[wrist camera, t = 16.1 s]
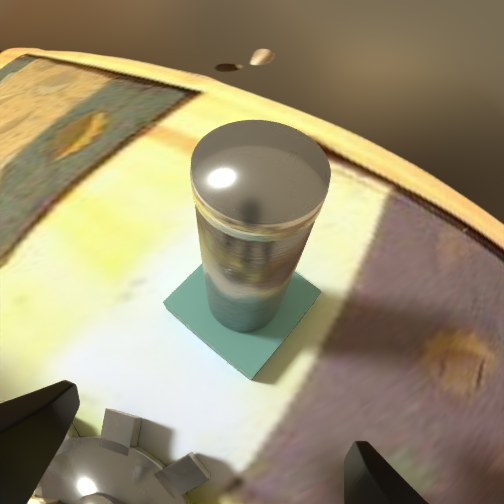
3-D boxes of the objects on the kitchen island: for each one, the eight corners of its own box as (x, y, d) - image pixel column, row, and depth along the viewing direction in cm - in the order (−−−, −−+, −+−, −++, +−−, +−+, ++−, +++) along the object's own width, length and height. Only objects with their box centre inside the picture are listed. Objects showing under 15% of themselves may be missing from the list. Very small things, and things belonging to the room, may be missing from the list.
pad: (316, 298, 21) (321, 290, 20) (250, 380, 18) (252, 377, 17) (236, 239, 23) (237, 228, 21) (166, 308, 20) (162, 301, 19)
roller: (295, 309, 19) (359, 184, 9) (231, 346, 17) (235, 243, 8) (255, 253, 21) (278, 108, 11) (193, 284, 19) (167, 143, 10)
